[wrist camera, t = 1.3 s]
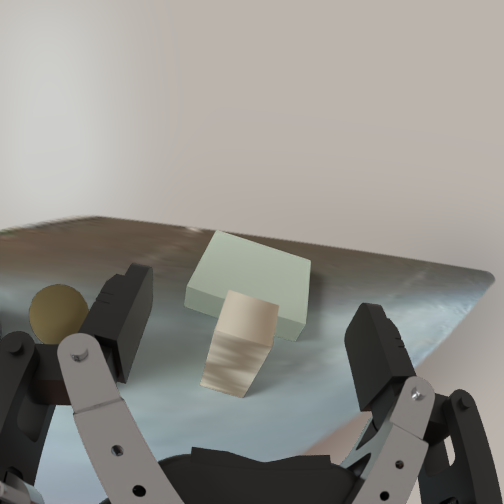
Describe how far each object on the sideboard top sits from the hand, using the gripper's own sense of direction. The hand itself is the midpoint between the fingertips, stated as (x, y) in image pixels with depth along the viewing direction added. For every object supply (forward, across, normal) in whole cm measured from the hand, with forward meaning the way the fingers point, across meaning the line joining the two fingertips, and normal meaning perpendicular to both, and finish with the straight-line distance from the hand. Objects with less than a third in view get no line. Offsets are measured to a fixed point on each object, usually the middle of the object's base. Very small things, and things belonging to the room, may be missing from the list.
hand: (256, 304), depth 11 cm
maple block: (+10, -1, +19) cm, 22 cm away
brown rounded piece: (+6, +14, +19) cm, 25 cm away
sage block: (+23, -3, +19) cm, 30 cm away
